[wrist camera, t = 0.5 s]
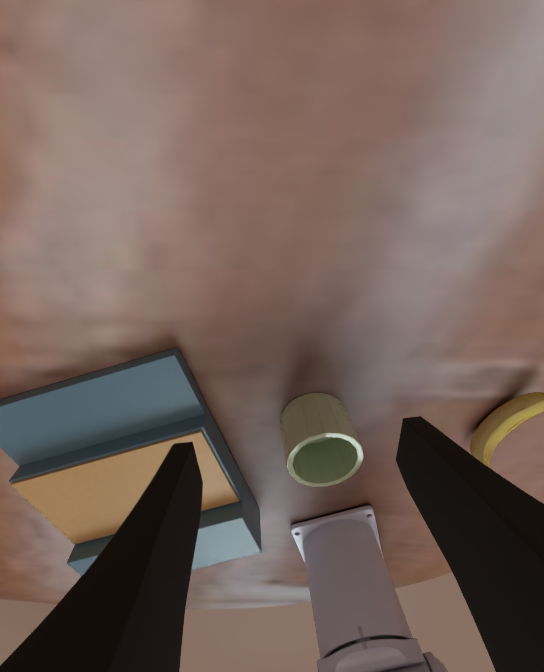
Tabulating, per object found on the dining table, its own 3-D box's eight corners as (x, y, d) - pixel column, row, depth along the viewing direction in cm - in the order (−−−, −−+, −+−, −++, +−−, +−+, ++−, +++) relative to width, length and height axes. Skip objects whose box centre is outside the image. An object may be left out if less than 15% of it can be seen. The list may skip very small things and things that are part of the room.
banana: (463, 453, 27) (496, 495, 23) (448, 446, 26) (481, 489, 23) (538, 384, 24) (590, 420, 20) (524, 375, 23) (575, 411, 20)
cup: (349, 432, 24) (367, 476, 21) (289, 449, 25) (297, 494, 21) (338, 384, 22) (357, 423, 19) (272, 403, 22) (278, 445, 19)
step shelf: (259, 510, 28) (261, 552, 25) (116, 547, 29) (101, 593, 26) (177, 346, 20) (165, 379, 16) (-21, 405, 20) (-69, 447, 17)
